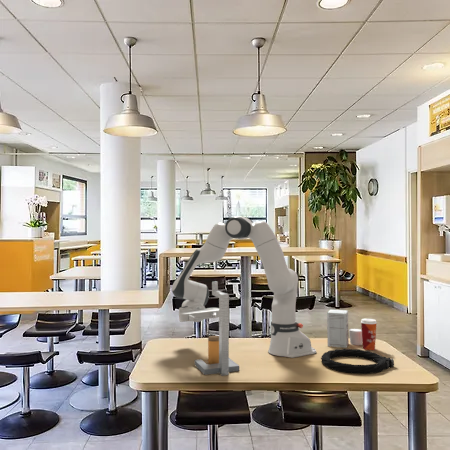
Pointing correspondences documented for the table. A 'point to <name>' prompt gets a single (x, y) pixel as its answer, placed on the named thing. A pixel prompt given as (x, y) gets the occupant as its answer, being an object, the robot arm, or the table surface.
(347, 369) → the cable lock
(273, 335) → the robot arm
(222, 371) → the hook stand
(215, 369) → the grey u-shaped bracket
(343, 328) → the supplement box
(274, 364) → the table surface
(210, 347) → the orange brown canister
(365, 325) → the paper cup
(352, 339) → the white short cylinder
